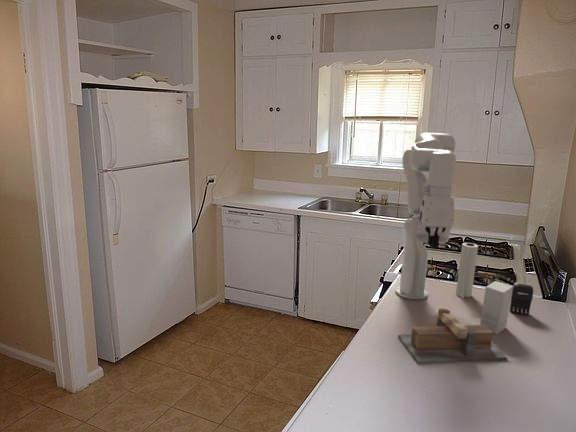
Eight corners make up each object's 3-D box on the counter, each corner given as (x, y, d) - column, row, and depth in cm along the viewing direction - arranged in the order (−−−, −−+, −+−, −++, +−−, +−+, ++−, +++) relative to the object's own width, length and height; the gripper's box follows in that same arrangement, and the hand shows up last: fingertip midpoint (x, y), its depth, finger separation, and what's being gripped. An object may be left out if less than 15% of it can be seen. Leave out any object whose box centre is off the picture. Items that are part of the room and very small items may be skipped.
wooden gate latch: (397, 336, 152) (400, 312, 150) (478, 334, 156) (481, 310, 154) (417, 363, 136) (420, 336, 134) (506, 360, 140) (510, 334, 138)
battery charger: (509, 313, 174) (513, 284, 171) (508, 309, 177) (513, 281, 174) (529, 317, 171) (534, 288, 168) (529, 313, 174) (534, 284, 172)
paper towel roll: (461, 290, 194) (468, 241, 189) (474, 295, 189) (481, 245, 184) (450, 294, 190) (457, 243, 185) (463, 299, 185) (470, 247, 180)
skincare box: (488, 321, 166) (494, 280, 163) (507, 328, 162) (514, 285, 158) (478, 328, 160) (484, 285, 157) (498, 335, 156) (504, 291, 152)
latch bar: (435, 316, 152) (436, 308, 152) (446, 316, 153) (447, 308, 152) (457, 338, 138) (458, 329, 137) (468, 338, 138) (469, 329, 138)
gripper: (420, 192, 143) (414, 250, 148) (467, 193, 145) (459, 250, 149) (412, 188, 151) (406, 243, 155) (456, 189, 152) (449, 243, 156)
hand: (432, 246), depth 152 cm, fingers closed
